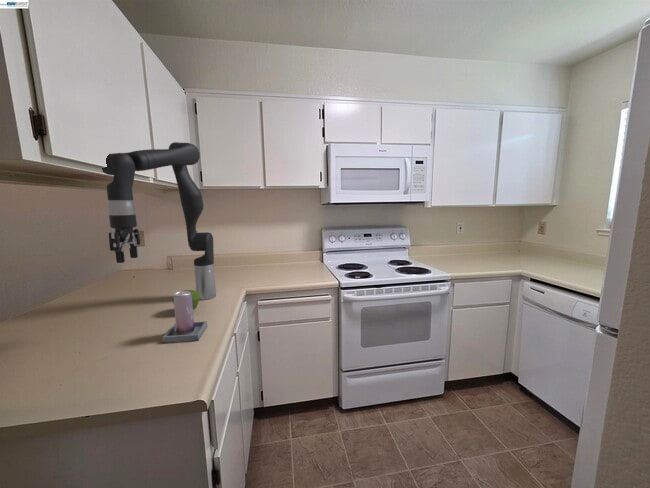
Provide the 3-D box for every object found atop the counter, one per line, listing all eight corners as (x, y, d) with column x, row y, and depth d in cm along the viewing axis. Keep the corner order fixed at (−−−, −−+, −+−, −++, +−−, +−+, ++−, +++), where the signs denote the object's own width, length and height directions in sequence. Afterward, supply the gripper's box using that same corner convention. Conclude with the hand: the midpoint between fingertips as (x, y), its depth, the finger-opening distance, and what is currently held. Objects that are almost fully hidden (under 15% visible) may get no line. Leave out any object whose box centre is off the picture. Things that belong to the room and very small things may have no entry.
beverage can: (185, 327, 107) (182, 290, 104) (198, 329, 105) (195, 291, 103) (172, 335, 101) (169, 295, 99) (186, 337, 99) (183, 296, 97)
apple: (173, 318, 117) (171, 295, 116) (174, 309, 127) (172, 288, 125) (201, 313, 122) (199, 291, 121) (200, 305, 131) (198, 285, 130)
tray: (175, 328, 108) (175, 323, 107) (207, 326, 109) (206, 321, 109) (162, 343, 96) (162, 337, 96) (198, 340, 98) (197, 334, 98)
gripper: (122, 214, 89) (128, 264, 92) (144, 212, 103) (148, 256, 106) (96, 214, 88) (103, 265, 91) (122, 213, 102) (127, 256, 105)
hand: (127, 260), depth 98 cm, fingers open, 8 cm apart
